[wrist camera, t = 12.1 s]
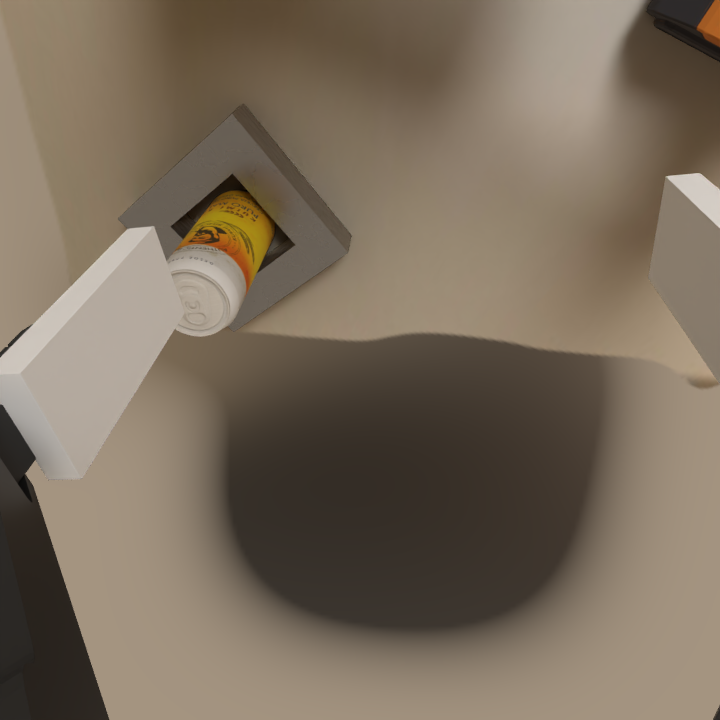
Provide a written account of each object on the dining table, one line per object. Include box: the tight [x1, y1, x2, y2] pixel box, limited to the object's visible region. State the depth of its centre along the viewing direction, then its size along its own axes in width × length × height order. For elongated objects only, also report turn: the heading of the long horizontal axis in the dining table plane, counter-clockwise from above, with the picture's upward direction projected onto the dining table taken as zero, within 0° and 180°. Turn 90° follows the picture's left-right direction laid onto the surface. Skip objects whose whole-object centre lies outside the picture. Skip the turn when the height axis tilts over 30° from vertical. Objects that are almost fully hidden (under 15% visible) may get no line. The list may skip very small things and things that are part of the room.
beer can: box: [167, 191, 275, 337], centre depth 46 cm, size 6×6×15 cm
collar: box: [118, 104, 352, 332], centre depth 51 cm, size 14×14×4 cm
